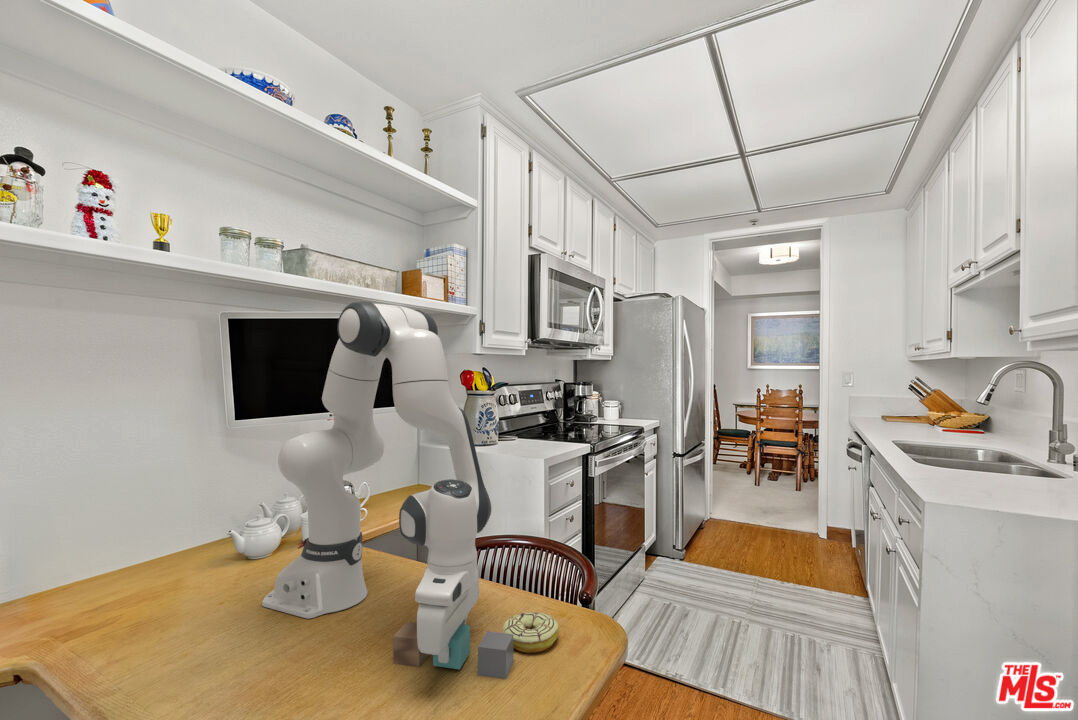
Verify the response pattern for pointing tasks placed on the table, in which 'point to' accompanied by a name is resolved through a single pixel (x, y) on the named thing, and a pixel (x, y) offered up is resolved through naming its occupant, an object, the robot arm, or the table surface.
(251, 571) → the table surface
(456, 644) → the teal cube
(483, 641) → the charcoal cube
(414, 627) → the walnut cube
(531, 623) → the decorated donut
